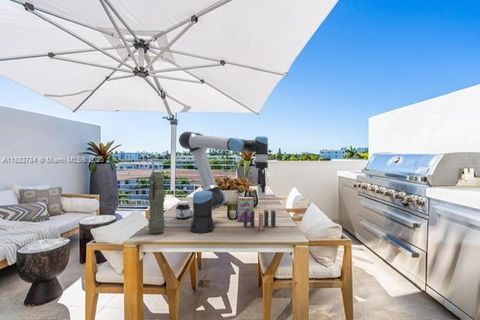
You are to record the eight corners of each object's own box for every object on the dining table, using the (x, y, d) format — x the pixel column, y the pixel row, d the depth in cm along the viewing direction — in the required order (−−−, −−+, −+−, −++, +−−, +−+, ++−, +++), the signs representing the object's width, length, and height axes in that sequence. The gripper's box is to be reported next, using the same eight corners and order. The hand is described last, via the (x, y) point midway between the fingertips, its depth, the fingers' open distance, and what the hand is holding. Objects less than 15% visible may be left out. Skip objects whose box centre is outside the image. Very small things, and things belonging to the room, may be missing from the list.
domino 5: (272, 227, 158) (272, 211, 158) (270, 225, 163) (271, 210, 163) (275, 227, 158) (275, 211, 158) (273, 225, 163) (274, 209, 163)
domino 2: (251, 227, 158) (251, 211, 158) (250, 225, 163) (250, 210, 163) (254, 227, 158) (254, 211, 158) (253, 225, 163) (253, 210, 163)
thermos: (144, 233, 143) (144, 172, 143) (153, 228, 154) (154, 171, 154) (159, 234, 142) (159, 173, 142) (167, 228, 153) (167, 171, 153)
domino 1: (244, 227, 157) (244, 211, 157) (243, 225, 162) (243, 210, 162) (247, 227, 157) (247, 211, 157) (246, 225, 162) (246, 210, 162)
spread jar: (174, 218, 180) (174, 202, 179) (182, 215, 190) (182, 200, 190) (188, 219, 176) (189, 203, 176) (196, 216, 187) (196, 200, 187)
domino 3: (259, 231, 150) (259, 214, 150) (258, 228, 155) (258, 212, 155) (263, 231, 150) (263, 214, 150) (262, 228, 155) (262, 212, 155)
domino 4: (265, 227, 158) (265, 211, 158) (264, 225, 163) (264, 210, 163) (268, 227, 158) (268, 211, 158) (267, 225, 163) (267, 210, 163)
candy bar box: (237, 221, 172) (237, 197, 172) (237, 219, 177) (237, 196, 177) (253, 222, 171) (253, 198, 171) (253, 220, 176) (253, 197, 176)
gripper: (271, 161, 140) (270, 199, 140) (264, 161, 165) (264, 193, 165) (258, 161, 140) (257, 199, 140) (253, 161, 165) (253, 193, 165)
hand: (261, 196), depth 152 cm, fingers open, 13 cm apart
